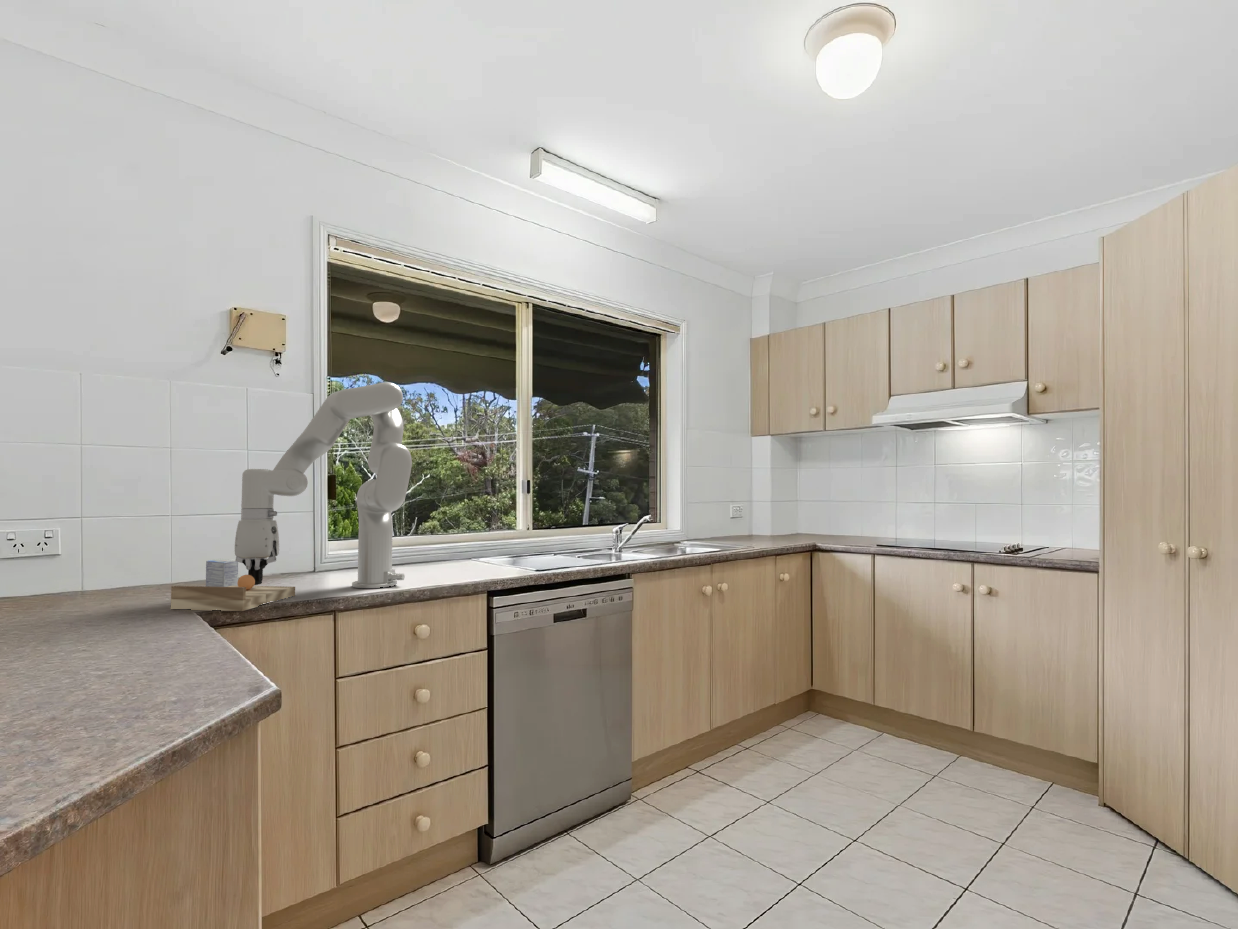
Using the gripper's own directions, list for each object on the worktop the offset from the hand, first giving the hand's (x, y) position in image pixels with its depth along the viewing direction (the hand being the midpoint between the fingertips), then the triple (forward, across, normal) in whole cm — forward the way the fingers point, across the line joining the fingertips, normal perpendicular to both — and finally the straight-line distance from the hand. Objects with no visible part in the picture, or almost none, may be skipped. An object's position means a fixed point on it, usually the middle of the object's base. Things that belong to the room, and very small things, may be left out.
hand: (255, 584), depth 176 cm
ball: (-1, 0, +4) cm, 4 cm away
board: (+4, 0, +8) cm, 8 cm away
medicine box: (+4, +16, -9) cm, 19 cm away
